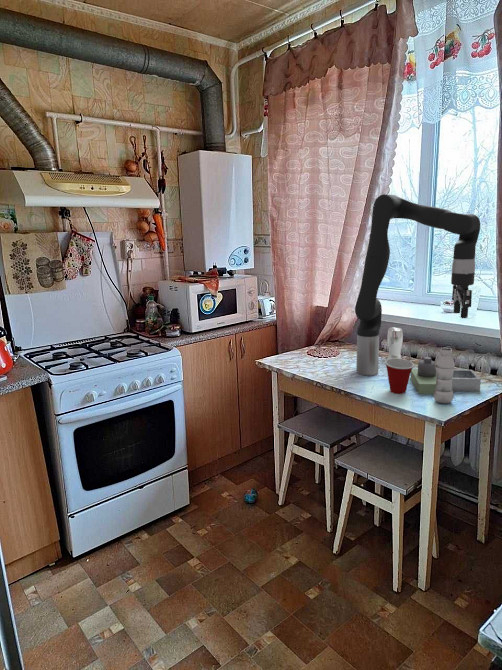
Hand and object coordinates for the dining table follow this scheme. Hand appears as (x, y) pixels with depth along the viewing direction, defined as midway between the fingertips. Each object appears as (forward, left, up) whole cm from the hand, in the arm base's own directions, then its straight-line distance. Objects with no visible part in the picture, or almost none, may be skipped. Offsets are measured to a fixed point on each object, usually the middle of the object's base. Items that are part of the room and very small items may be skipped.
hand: (460, 315), depth 169 cm
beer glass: (-17, +41, -30) cm, 54 cm away
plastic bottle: (-7, -11, -30) cm, 33 cm away
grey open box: (+3, +6, -30) cm, 31 cm away
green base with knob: (-8, +6, -30) cm, 32 cm away
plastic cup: (-21, 0, -30) cm, 37 cm away
